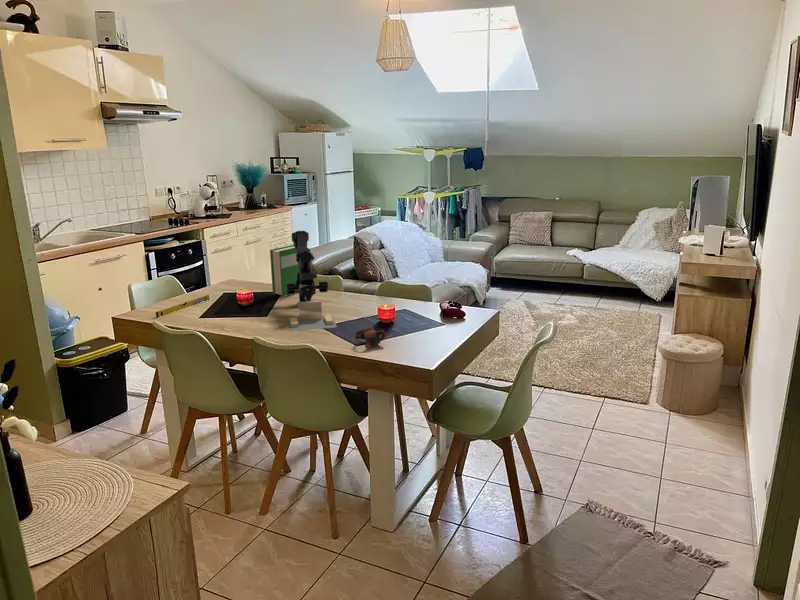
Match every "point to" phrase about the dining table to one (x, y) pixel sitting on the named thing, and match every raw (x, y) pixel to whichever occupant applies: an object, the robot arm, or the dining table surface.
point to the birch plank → (310, 310)
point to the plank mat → (311, 323)
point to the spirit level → (181, 306)
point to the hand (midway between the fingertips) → (309, 303)
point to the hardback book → (283, 268)
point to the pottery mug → (370, 337)
